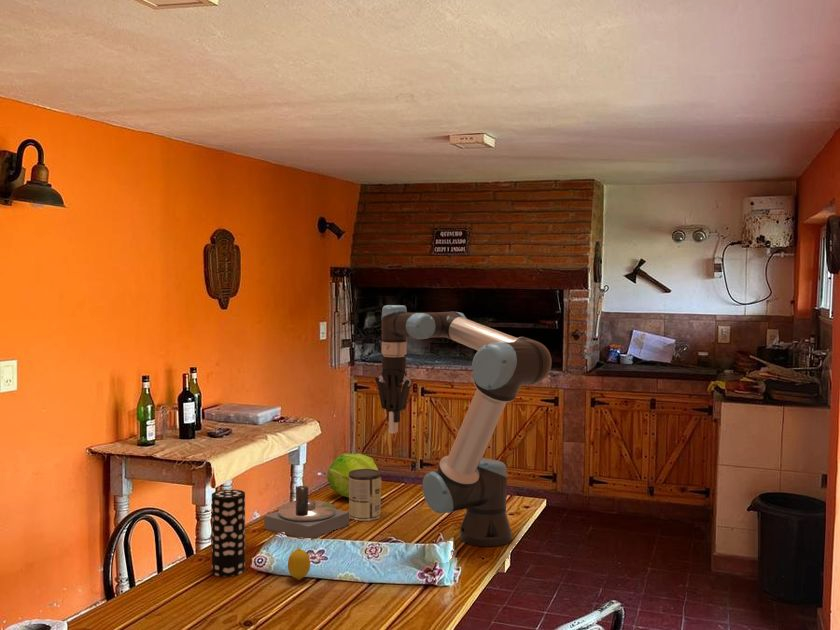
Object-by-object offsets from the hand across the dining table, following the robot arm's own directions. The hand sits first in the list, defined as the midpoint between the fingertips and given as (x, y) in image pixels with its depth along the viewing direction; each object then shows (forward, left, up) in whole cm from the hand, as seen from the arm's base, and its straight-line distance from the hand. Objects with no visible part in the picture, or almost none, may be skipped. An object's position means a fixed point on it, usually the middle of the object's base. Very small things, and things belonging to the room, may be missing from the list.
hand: (393, 432), depth 246 cm
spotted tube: (+10, +57, -29) cm, 64 cm away
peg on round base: (+19, +18, -24) cm, 35 cm away
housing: (+19, +18, -28) cm, 39 cm away
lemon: (-9, +51, -29) cm, 59 cm away
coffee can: (+12, -1, -29) cm, 31 cm away
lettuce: (+28, -16, -29) cm, 43 cm away
